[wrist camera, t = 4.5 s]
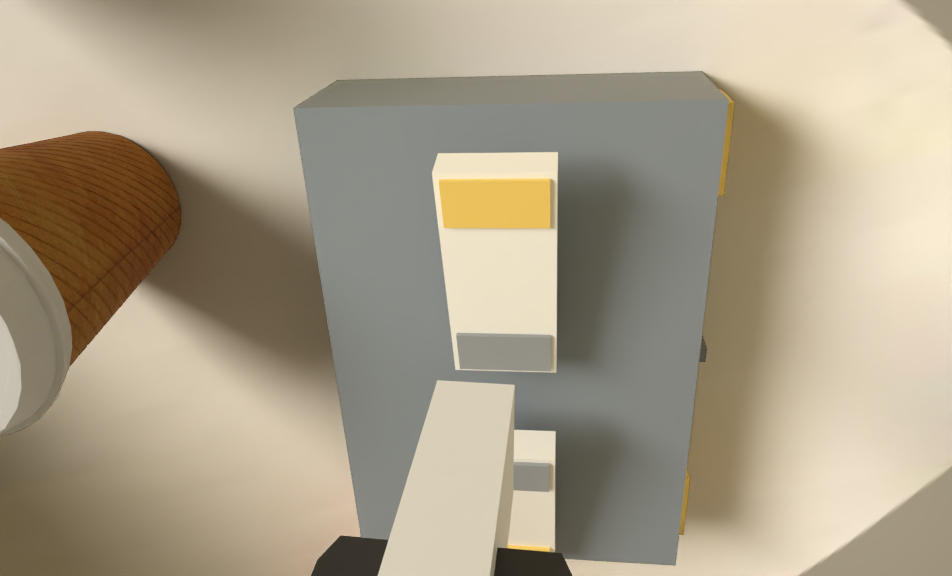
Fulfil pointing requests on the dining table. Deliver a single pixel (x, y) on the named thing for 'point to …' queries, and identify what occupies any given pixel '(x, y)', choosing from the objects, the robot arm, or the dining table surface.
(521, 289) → the rocker
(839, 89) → the dining table surface
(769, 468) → the dining table surface
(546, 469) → the rocker
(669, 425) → the console
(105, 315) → the disposable coffee cup
